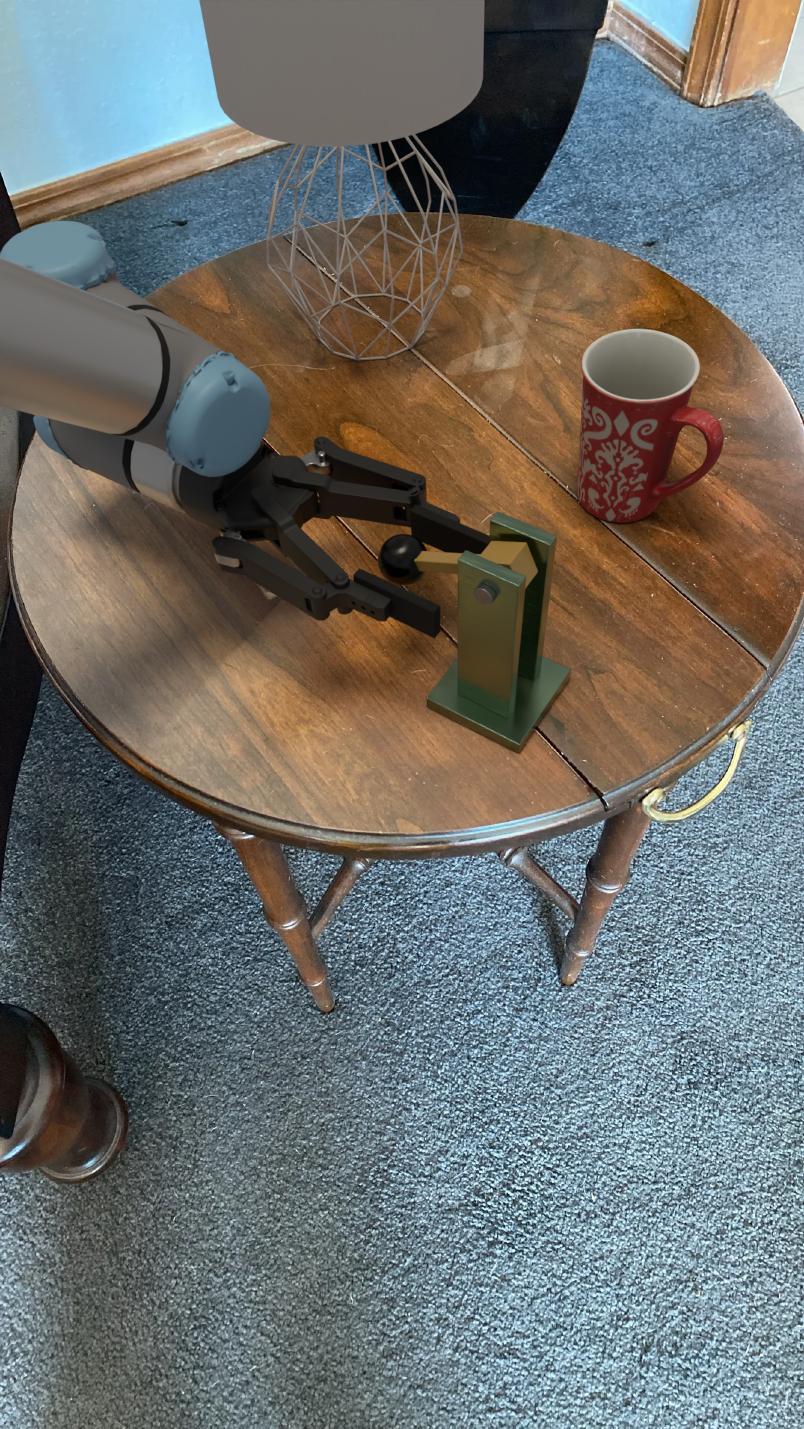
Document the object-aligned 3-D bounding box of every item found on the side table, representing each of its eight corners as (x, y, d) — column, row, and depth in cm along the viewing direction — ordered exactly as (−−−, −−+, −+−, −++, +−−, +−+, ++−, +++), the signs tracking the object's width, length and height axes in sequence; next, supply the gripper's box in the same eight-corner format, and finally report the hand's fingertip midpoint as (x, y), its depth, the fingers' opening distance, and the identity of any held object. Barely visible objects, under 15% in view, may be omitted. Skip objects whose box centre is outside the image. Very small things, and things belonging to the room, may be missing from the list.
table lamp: (226, 312, 103) (117, -187, 70) (403, 242, 109) (379, -248, 76) (331, 425, 92) (261, -104, 59) (521, 339, 98) (554, -184, 65)
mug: (543, 494, 86) (556, 363, 75) (611, 445, 89) (634, 312, 78) (655, 570, 80) (688, 441, 69) (724, 515, 83) (765, 383, 72)
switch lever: (380, 594, 70) (359, 554, 68) (408, 562, 71) (388, 522, 69) (519, 608, 62) (500, 563, 60) (546, 571, 63) (529, 527, 61)
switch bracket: (426, 706, 74) (419, 563, 61) (479, 636, 77) (485, 486, 64) (518, 753, 71) (532, 614, 58) (570, 678, 74) (594, 530, 61)
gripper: (289, 437, 82) (530, 538, 74) (136, 586, 73) (390, 718, 65) (276, 360, 76) (537, 461, 68) (106, 513, 67) (383, 649, 59)
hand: (464, 587), depth 67 cm, fingers open, 6 cm apart
